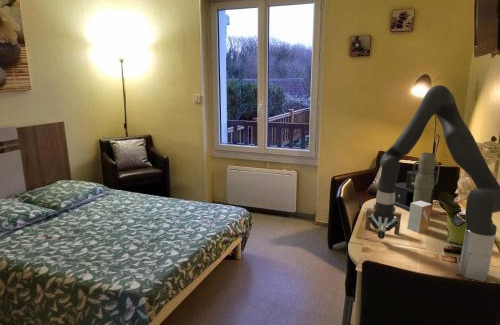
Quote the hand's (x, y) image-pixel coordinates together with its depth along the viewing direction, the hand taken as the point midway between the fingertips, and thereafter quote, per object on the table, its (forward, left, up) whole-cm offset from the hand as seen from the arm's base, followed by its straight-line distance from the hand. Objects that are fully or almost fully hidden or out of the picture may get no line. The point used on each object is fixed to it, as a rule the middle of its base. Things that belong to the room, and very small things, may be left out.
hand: (380, 238), depth 160 cm
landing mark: (+27, 0, -2) cm, 27 cm away
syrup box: (+15, -31, -2) cm, 34 cm away
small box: (+23, -16, -2) cm, 28 cm away
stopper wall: (+42, 0, -2) cm, 42 cm away
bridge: (+13, 0, -2) cm, 13 cm away
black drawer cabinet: (+56, -12, -2) cm, 57 cm away
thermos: (+36, -17, -2) cm, 40 cm away
